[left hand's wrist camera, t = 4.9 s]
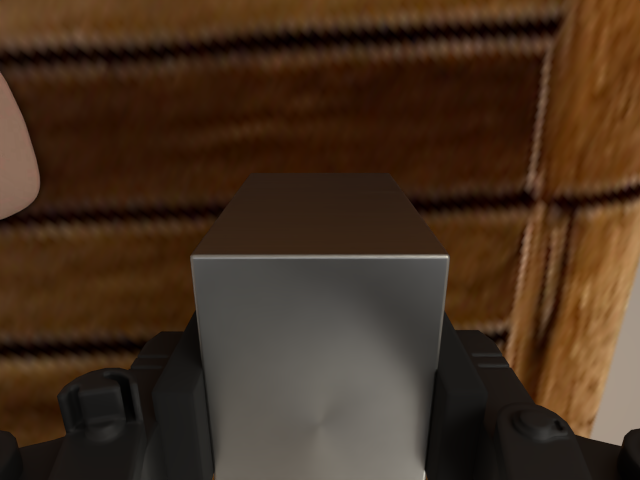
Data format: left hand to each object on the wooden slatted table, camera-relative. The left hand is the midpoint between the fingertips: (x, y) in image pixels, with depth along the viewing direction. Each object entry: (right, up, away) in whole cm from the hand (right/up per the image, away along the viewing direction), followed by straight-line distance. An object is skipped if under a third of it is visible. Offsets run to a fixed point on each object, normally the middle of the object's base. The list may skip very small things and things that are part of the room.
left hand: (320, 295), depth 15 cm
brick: (0, 0, +1) cm, 2 cm away
